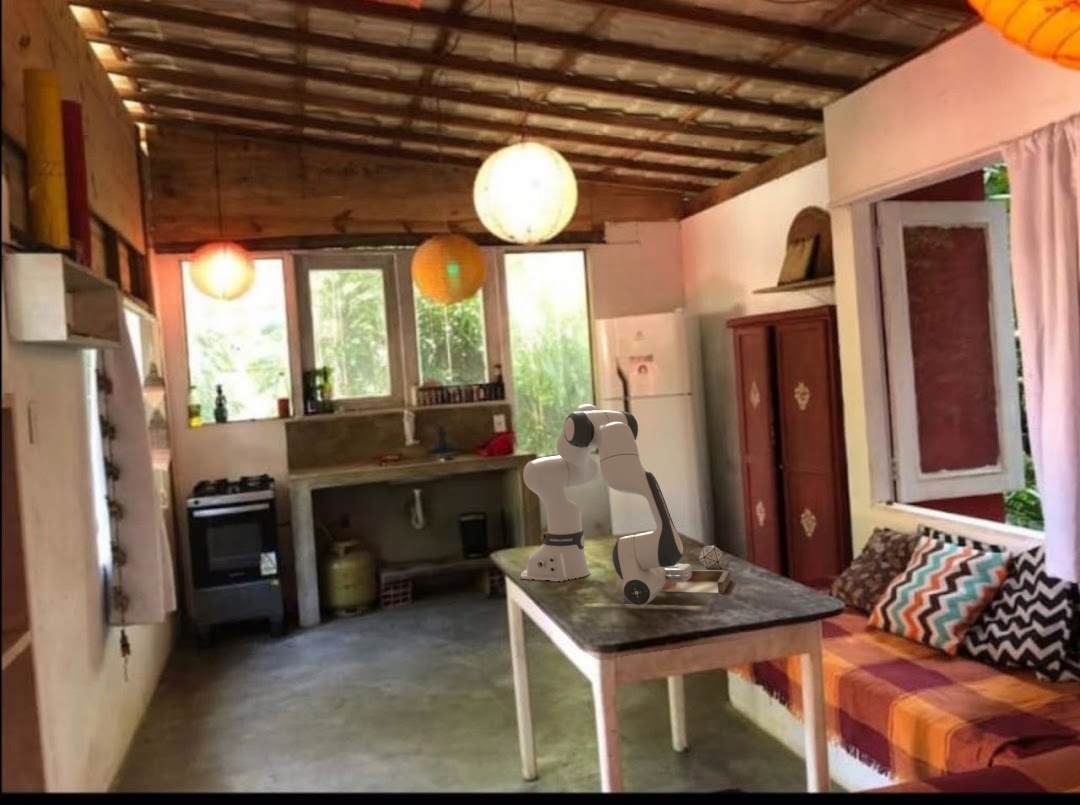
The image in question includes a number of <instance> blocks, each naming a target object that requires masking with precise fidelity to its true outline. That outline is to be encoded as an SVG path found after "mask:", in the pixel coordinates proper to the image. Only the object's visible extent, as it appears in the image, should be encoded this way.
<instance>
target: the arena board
mask: <svg viewBox="0 0 1080 805" xmlns="http://www.w3.org/2000/svg"><path fill="white" fill-rule="evenodd" d="M730 582H731V571H730V570H729V569H692V576H691V578H690V579H688V580H687V581H684V582H675V584H674V586H673V587H663V588H662V589H661V590H660V592H667V593H708V594H711V593H714V594H717V593H719V594H724V593H725V591H726V589H727V587H728V586H729V584H730Z"/></svg>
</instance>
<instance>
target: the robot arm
mask: <svg viewBox="0 0 1080 805" xmlns="http://www.w3.org/2000/svg"><path fill="white" fill-rule="evenodd" d="M638 435H639V425H638V421H637V420H636V417H635V416H634V415H633V414H631V412H630V413H629V412H626V411H616V410H615V411H614V410H607V409H606V410H605V409H604V410H600V408H598V407H597V406H595V405H594V404H593V405H592V404H587V403H586V404H585V403H584V404H581V405H579V406H578V407H577V408H575V410H574V411H573V412H572V413H569V414H568V416H567V417H566V419H565V422H564V427H563V428H562V431H561V433H560V435H559V436H558V438H557V441H556V450H557V452H558V455H552V456H545V457H544V456H543V457H540V458H536V459H533V460H529V461H528V462H527V463H526V465H525V466H524V469H523V472H522V477H523V481H524V484H525V486H526V487H527V488H528V489H529V490H530V491H532V492H533V493H535V495H537V496H538V498H539V499H540V500H541V502H542V505H543V508H544V510H545V515H546V523H547V524H546V525H547V531H545V533H544V534H542V536H541V541H543V542H542V544H541V545H540V546H539V547H538V548H537V549H536V550H534V552H533V553H532V554H531V555H530V556H529V558H528V559H527V565H526V569H525V570H523V571H522V572H520V573H521V574H520V578H521V579H522V580H532V579H534V580H533V581H545V580H550V581H549V582H558V581H560V582H564V580H565V581H569V580H574V579H575V578H576V579H581V578H584V577H586V576H588V575H590V574H591V572H590V569H589V566H588V563H587V559H586V558H587V557H586V555H585V535H584V529H583V527H582V513H581V507H580V506H579V505H578V503H576V502H575V501H573V500H571V499H569V498H567V496H566V494H565V490H568V489H575V488H580V487H584V486H587V485H589V484H591V483H593V482H595V481H596V480H597V476H598V474H599V473H598V472H599V468H598V463H597V461H596V460H595V459H596V458H594V456H592V455H591V454H592V452H593V450H594V449H598V454H599V455H598V456H599V463H600V470H601V475H602V479H603V480H604V482H605V484H606V485H607V487H608V486H609V487H610V488H611V489H612V490H614V491H616V492H620V493H625V494H630V495H637V496H640V497H643V498H645V499H646V501H647V502H648V505H649V508H650V511H651V514H652V516H653V519H654V522H655V524H656V527H655V529H654V530H652V531H651V530H650V531H646V532H640V533H634V534H631V535H626V536H622V537H619V538H618V539H617V541H616V542H615V544H614V546H613V549H612V562H613V567H614V570H615V571H616V573H617V575H618V576H619V583H620V584H619V585H620V587H621V588H622V592H623V595H624V598H625V599H626V600H627V601H628V602H629V603H630V604H632V605H634V606H635V605H636V606H644V605H647V604H649V603H650V602H652V601H653V600H654V599H655V598H656V597H657V596H658V594H659V593H660V592H661V591H660V590H661V589H662V588H663V587H664V585H665V584H666V582H684V581H687V580H688V579H690V578H691V576H692V570H693V569H692V564H689V563H679V561H681V559H682V558H683V556H684V546H683V542H682V540H681V538H680V535H679V534H678V531H677V529H676V527H675V525H674V522H673V519H672V516H671V514H670V510H669V509H668V506H667V503H666V500H665V497H664V495H663V493H662V490H661V487H660V485H659V482H658V480H657V479H656V477H655V475H654V474H653V473H652V472H651V471H647V470H646V469H645V468H644V466H643V465H642V463H641V459H640V454H639V449H638V446H637V445H638V444H637V442H636V440H637V438H638ZM580 577H581V578H580ZM568 579H569V580H568Z"/></svg>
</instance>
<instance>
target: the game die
mask: <svg viewBox="0 0 1080 805" xmlns="http://www.w3.org/2000/svg"><path fill="white" fill-rule="evenodd" d="M700 547H701V550H700V553H699V557H698V559H695V561H696V562H700V563H701V564H702V565H703V566H704V567H705V568H706V570H713V569H716V568H719V570H722V566H721V564H722V562H723V560H724V557H725V555H727V553H724V552H722V551H721V549H719V548H718V547H717V546H716V542H714V543H713V544H712V545H707V546H704V545H702V544H701V545H700Z"/></svg>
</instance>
